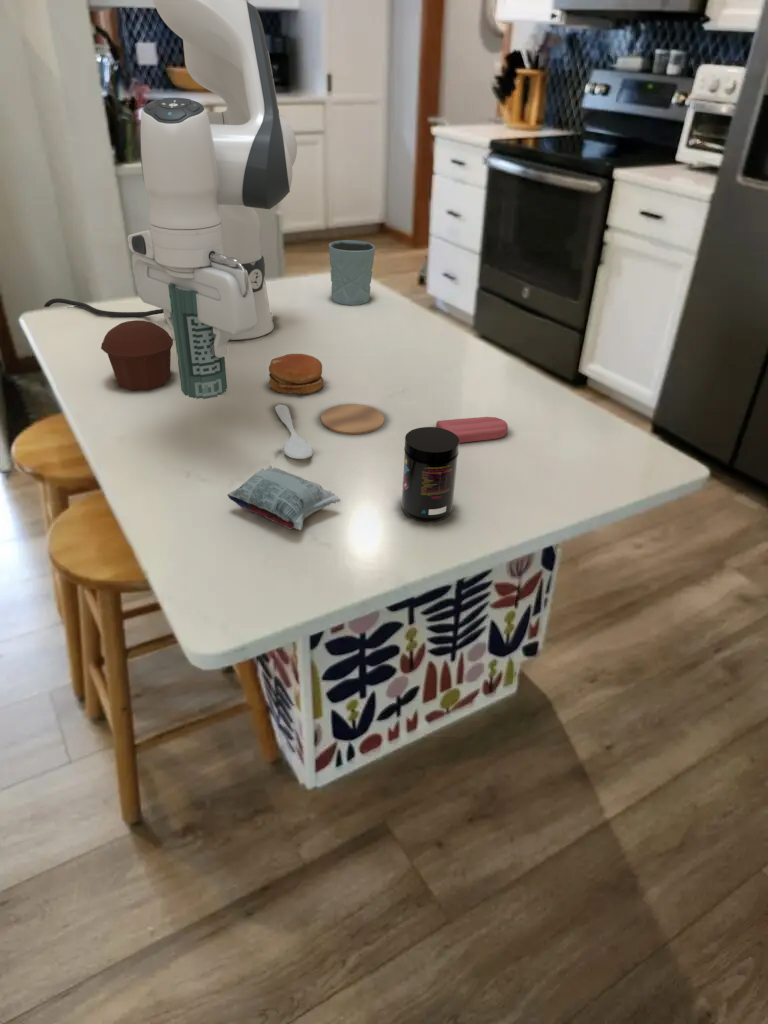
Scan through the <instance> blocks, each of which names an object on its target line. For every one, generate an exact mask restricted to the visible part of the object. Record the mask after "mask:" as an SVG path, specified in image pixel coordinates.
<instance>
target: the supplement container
mask: <svg viewBox="0 0 768 1024" xmlns="http://www.w3.org/2000/svg"><path fill="white" fill-rule="evenodd" d="M459 448H460V443H459V438H458V437H457V435H456V434H454V433H453V432H451V431H449V430H446V429H442V428H437V427H436V426H422V427H416V428H413V429H411V430H409V431H408V432H407V433H406V434H405V437H404V449H403V450H404V456H403V476H402V489H401V491H402V493H401V508H402V511H403V512H404V513H405V514H406V516H408V518H411V519H413V520H415V521H417V522H423V523H435V522H439V521H440V522H441V521H442V520H445V519H446V518H447V517H448V516H449V515H450V514H451V512H452V511H453V506H454V496H455V485H456V476H457V467H458V457H459V453H460V451H459V450H460V449H459Z"/></svg>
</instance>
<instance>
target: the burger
mask: <svg viewBox="0 0 768 1024" xmlns="http://www.w3.org/2000/svg"><path fill="white" fill-rule="evenodd" d="M268 371H269V374H268V375H269V382H268V384H269V387H270V389H271V390H273V391H275V392H277V393H281V394H282V393H283V394H289V393H291V394H296V395H300V394H301V395H302V394H312V393H314V392H317V391H319V390H321V388H322V387H323V385H324V378H323V376H322V374H323V363H322V361H320V360H319V359H318V358H316V357H315V356H314V355H313V356H312V355H309V354H304V353H288V354H284V355H281V356H278V357H274V358H272V359H271V360H270V364H269V366H268Z"/></svg>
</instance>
